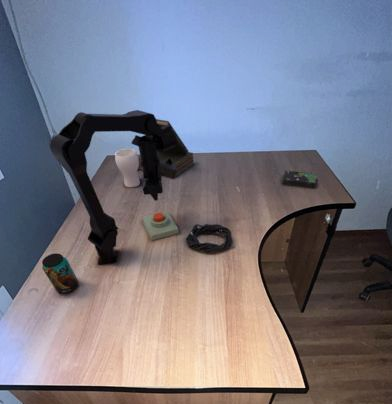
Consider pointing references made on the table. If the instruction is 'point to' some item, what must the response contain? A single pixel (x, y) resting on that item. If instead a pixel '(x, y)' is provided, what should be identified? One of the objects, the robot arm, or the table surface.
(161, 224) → the green stepped base
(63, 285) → the beverage can
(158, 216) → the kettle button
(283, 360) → the table surface
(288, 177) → the disk drive
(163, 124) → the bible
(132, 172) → the white vase
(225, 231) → the cable
